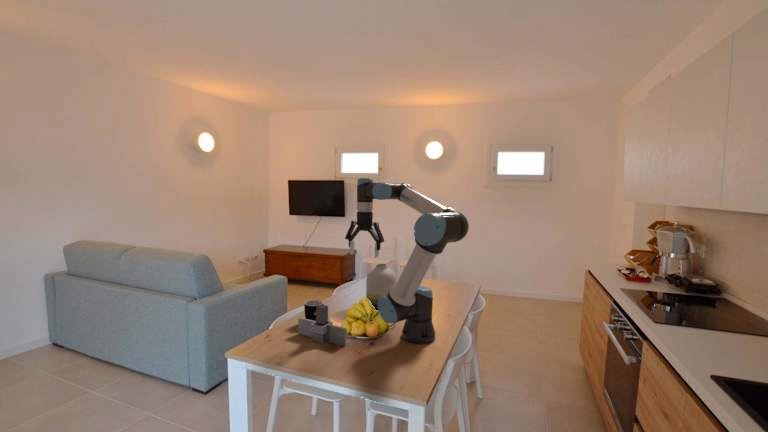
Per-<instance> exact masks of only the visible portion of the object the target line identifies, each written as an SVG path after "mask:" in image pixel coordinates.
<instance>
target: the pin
mask: <svg viewBox="0 0 768 432" xmlns="http://www.w3.org/2000/svg"><path fill="white" fill-rule="evenodd" d="M328 321H329V306H328V305H327V304H326V305H325V304H324V305H319V306H317V307H316V325H319V326H324V325H326V324H328Z"/></svg>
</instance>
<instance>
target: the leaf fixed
mask: <svg viewBox="0 0 768 432" xmlns="http://www.w3.org/2000/svg"><path fill="white" fill-rule="evenodd" d="M347 329H348V328H346V327H342V326H338V325H333V324H332V325H330V324H328V325H327V333H326V334H324V335H320V334H316V333H312V337H311V341H312V342H314V343H315V342H316V343H318V344H323V345H324V344H325V343H327V342H328V343H330V344H335V345H338V346H343V347H347V342H348V341H347V335H348V334H347V333H348V332H347Z"/></svg>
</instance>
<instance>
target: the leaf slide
mask: <svg viewBox="0 0 768 432" xmlns="http://www.w3.org/2000/svg"><path fill="white" fill-rule="evenodd" d="M297 320H298V325H297V327H298V328H297V329H298V331H297V332H298V335H302V336H306V337H310V338H312V333H316V334H320V335H324V334H326V333H327V325H328V324H330V325H333V321H329V320H328V324H326V325H324V326H319V325H316V321H313V320H309V319H306V318H304V317H298V319H297Z"/></svg>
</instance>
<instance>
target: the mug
mask: <svg viewBox="0 0 768 432" xmlns="http://www.w3.org/2000/svg"><path fill="white" fill-rule="evenodd" d="M319 305H325V304H324V302H323V301H322V300H318V299H311V300H307V301H305V302H304V306H303V307H304V317H305V319H309V320H313V321H316V307H317V306H319Z"/></svg>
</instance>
